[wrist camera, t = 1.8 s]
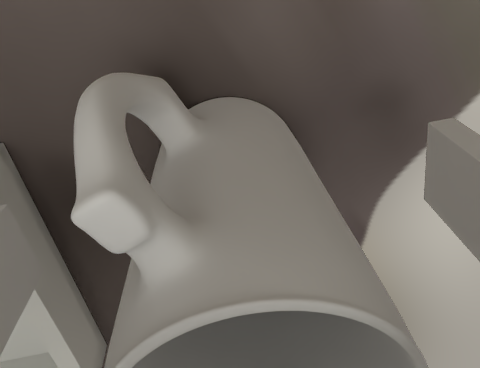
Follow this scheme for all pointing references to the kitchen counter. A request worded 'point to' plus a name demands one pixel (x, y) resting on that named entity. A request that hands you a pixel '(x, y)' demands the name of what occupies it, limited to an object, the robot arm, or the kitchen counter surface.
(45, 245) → the tray
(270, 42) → the kitchen counter surface
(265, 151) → the mug
